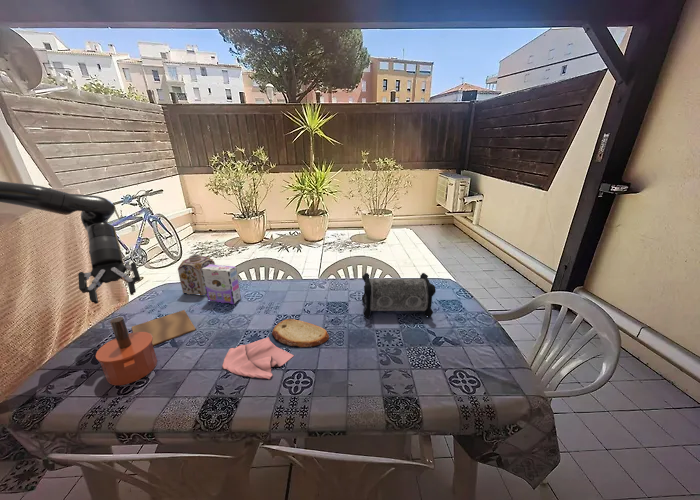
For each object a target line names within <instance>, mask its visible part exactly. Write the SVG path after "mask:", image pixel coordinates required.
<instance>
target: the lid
mask: <svg viewBox="0 0 700 500" xmlns="http://www.w3.org/2000/svg"><path fill="white" fill-rule="evenodd" d="M109 322H110V325H111V329H112V332H113V334H114V337H115V338H113V339H111V340H109V341H107V342H106V343H105V344H103V345H102V346H101V347H100V348H99V349H98V350H97V351H96V353H95V358H96V360H97V361H98V363H100V362H101V363H115V362H119V361H123V360H126V359H129V358H131V357H133V356H136V355H137V354H139V353H141V352H142V351H144V350H145V349H146V348H148V347H149V346H150V344H151V343H152V341H153V337H152V335H151V334H150V333H147V332H134V333H133V332H130V333H129V330H128V327H127V324H126V321H125V318H124V317H123V316H118V317H114V318H112V319H111V320H110V321H109Z"/></svg>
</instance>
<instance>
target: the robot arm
mask: <svg viewBox="0 0 700 500" xmlns="http://www.w3.org/2000/svg"><path fill="white" fill-rule="evenodd" d="M0 203H3V204H7V205H8V204H9V205H15V206H20V207H25V208H31V209H34V210H39V211H44V212H49V213H53V214H58V215H63V216H69V215H71V214H73V213H74V212H81V213H80V220H81V223H82V225H83V227H84V228H85V230H86V232H87V239H88V244H89V245H88V250H89V251H88V253H89V257H90V263H91V271H88V272H84V271H80V272H78V275H77V277H78V290H79V291H81V293H83V294H86V293H88V296H89V301H90V302H91V303H94V304H96V305H97V304H99V297H98V292H97V290H98V289H99V288H100V287H102V285H103V284H109V283H111V282H118V281H119V280H121V281H123V282H124V283H125V282H126V283H127V286H128V291H129V295H130V296H134V294H136V291H137V290H136V286H135V284H136V282H140V281H141V277H140V273H139V270H138V267H137V265H136V262H131V263H130V264H128V265H125V264H124V259H123V256H122V255H123V254H122V250H121V245H120V242H119V239H118V235H117V231H116V227H115V226H114V225H113V224H111V223H109V220H110V218H112V216H113V215H114V214H115V212H116V206H115V204H114V203H113V202H112V201H111V200H110V199H107V198H105V197H102V196H98V195H92V194H91V195H90V194H81V193H80V194H79V193H68V192H65V191H62V190H58V189H54V188H50V187H46V186H43V185H42V186H41V185H37V184H31V183H30V184H28V183H19V182H9V181H1V180H0ZM127 270H128V271H130V272H132V273H133V277H131V276H129V275H127V274H126V272H127ZM91 277H92V278H93V280H92V281H91V283H90V284H89V286H88V280H89V279H90V278H91Z"/></svg>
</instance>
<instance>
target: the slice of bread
mask: <svg viewBox="0 0 700 500" xmlns="http://www.w3.org/2000/svg"><path fill="white" fill-rule="evenodd" d="M271 335H272V336H273V337H274V339H275V340H276V341H278V342H279V343H281V344H283V345H287V346H291V347H298V348H308V347H309V348H310V347H315V346H319V345H322V344H324V343H325V342H327V341H328V340H329V339H330V334H329V333H328V331H327V330H326V329H325V328H323V327H321V326H319V325H316V324H314V323H311V322H307V321H303V320H299V319H295V318H286V319H283V320H281V321H280V322H278V323H277V324H276V325H275V326H274V328H273V329H272V331H271Z"/></svg>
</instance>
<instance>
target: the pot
mask: <svg viewBox="0 0 700 500" xmlns="http://www.w3.org/2000/svg"><path fill="white" fill-rule="evenodd" d="M99 363H100V366H101V369H102V371H103V374H104V377H105V379H106V382H107V383H108V384H110V385H112V386H125V385H129V384H132V383H134V382H137V381H139V380H141V379H143V378H144V377H146V376H148V375H149V374H150V373H151V372H152V371H153V370H155V368H156V367H157V365H158V358H157V355H156V352H155V347H154V346H153V344H152V343H151V344H150V346H149V347H148V348H146V349H145V350H144V351H142V352H141V353H139V354H137V355H136V356H133V357H131V358H129V359H126V360H123V361H119V362H115V363H101V362H99Z"/></svg>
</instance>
